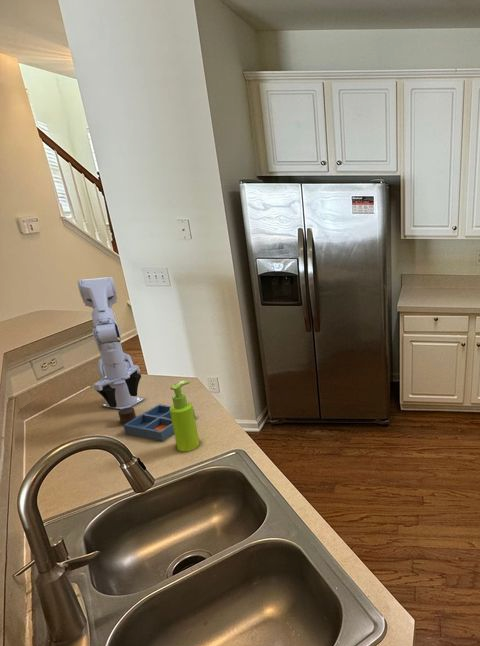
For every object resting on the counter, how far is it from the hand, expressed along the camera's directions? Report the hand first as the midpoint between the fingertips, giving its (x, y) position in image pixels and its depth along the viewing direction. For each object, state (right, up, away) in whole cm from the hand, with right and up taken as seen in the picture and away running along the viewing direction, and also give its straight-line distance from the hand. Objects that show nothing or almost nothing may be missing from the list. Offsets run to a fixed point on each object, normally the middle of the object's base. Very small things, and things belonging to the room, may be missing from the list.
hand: (123, 401), depth 137 cm
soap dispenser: (+25, -12, -9) cm, 29 cm away
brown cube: (0, -7, +3) cm, 8 cm away
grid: (+12, -8, +1) cm, 14 cm away
